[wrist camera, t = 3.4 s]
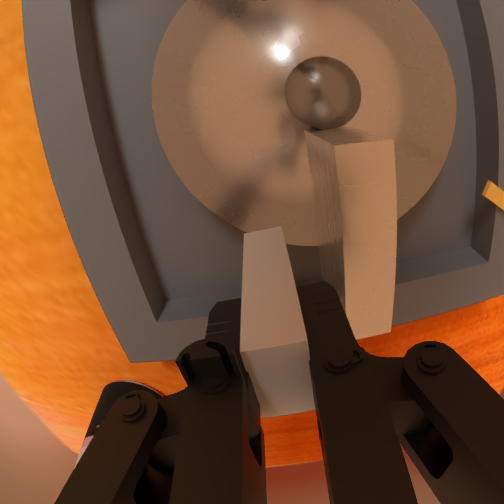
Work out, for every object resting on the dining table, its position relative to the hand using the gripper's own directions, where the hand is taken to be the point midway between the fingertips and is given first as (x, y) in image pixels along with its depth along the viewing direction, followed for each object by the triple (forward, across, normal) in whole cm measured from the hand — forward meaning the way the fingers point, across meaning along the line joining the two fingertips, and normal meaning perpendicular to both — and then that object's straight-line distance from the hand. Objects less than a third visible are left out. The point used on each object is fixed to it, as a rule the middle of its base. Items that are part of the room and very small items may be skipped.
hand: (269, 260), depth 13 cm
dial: (+4, +3, +5) cm, 7 cm away
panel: (+5, +3, +6) cm, 9 cm away
